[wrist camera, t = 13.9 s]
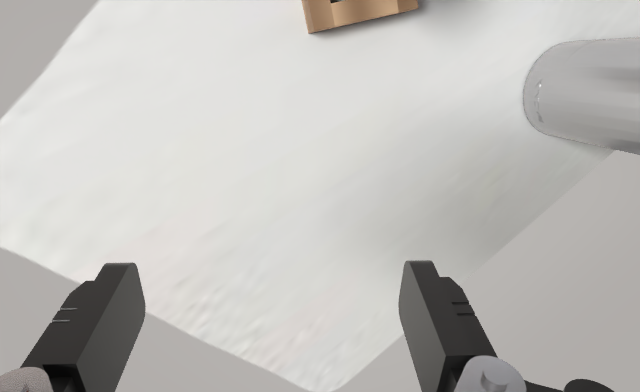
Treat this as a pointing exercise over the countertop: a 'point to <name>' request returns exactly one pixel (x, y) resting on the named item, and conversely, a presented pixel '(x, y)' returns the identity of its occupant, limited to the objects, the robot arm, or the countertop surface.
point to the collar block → (350, 11)
